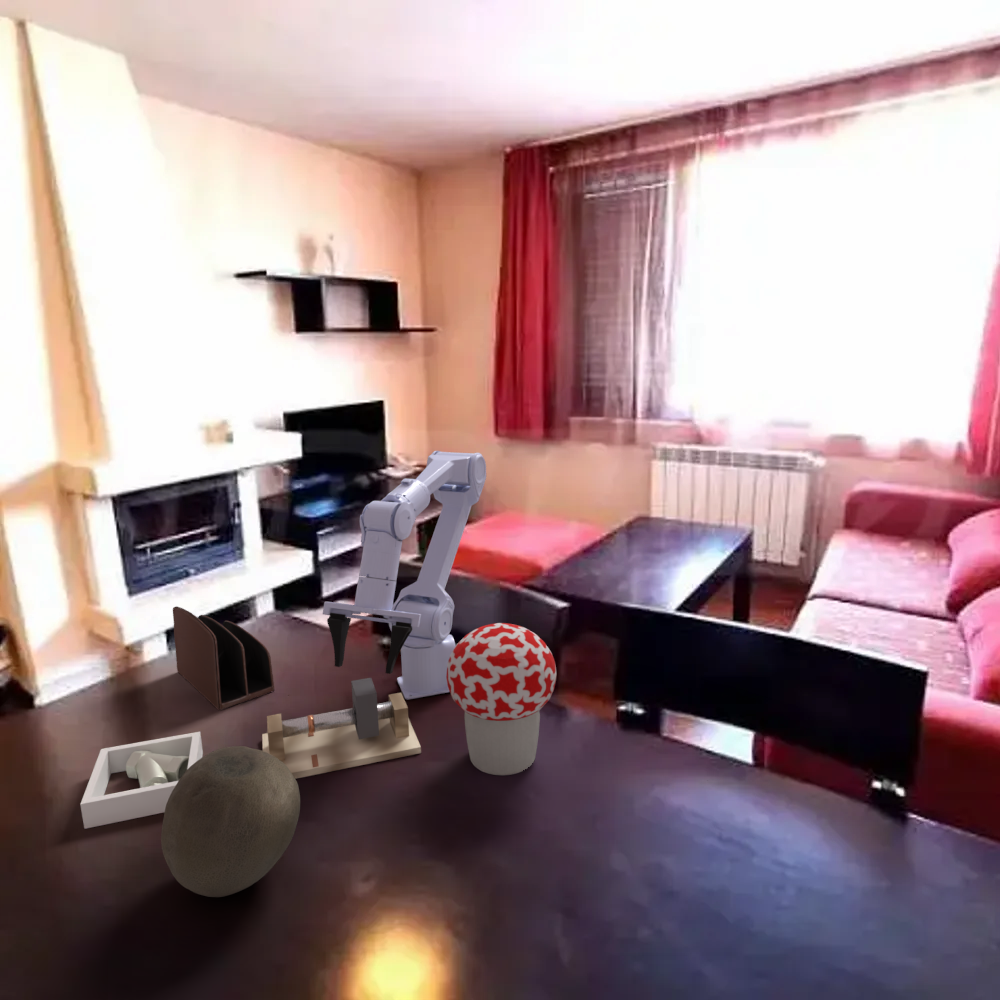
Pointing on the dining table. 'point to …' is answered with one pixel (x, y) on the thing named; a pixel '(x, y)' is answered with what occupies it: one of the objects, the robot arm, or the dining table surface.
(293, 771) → the pipe stand
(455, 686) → the decorative object
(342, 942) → the dining table surface
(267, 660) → the letter holder
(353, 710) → the pipe
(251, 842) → the kiwi fruit
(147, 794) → the parts frame
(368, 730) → the collar
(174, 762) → the pipe fitting
